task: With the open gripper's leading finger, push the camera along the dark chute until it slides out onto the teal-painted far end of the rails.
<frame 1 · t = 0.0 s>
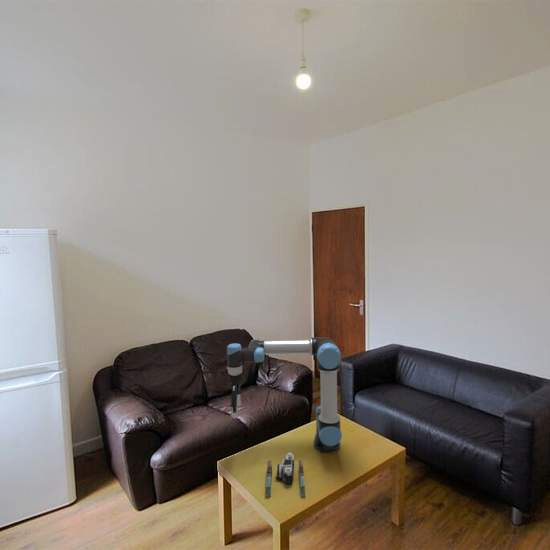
hand: (236, 411, 193), 28 cm above the table, fingers open, 13 cm apart
camera: (285, 476, 182), on the table
rail 2: (301, 482, 177), on the table
rail 1: (269, 482, 178), on the table
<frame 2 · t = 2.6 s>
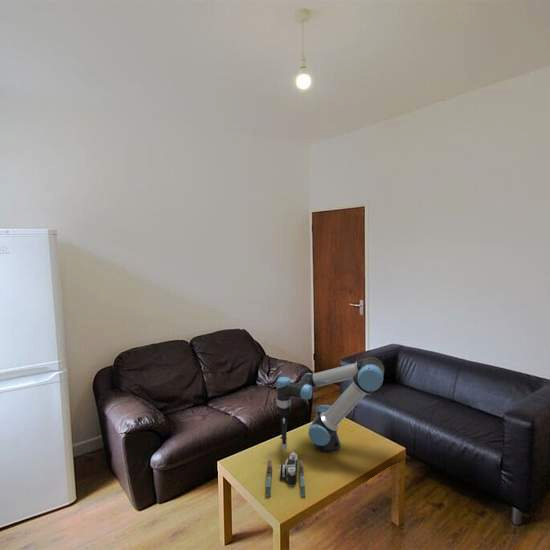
hand: (284, 441, 202), 6 cm above the table, fingers open, 13 cm apart
camera: (289, 476, 183), on the table
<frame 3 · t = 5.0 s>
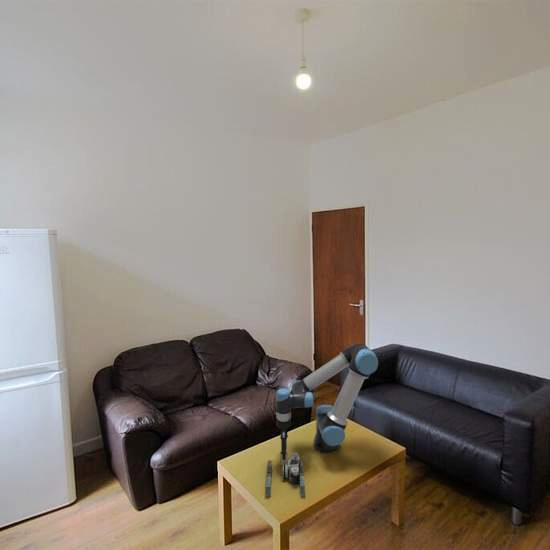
hand: (284, 456, 193), 3 cm above the table, fingers open, 13 cm apart
camera: (291, 476, 182), on the table, touching gripper
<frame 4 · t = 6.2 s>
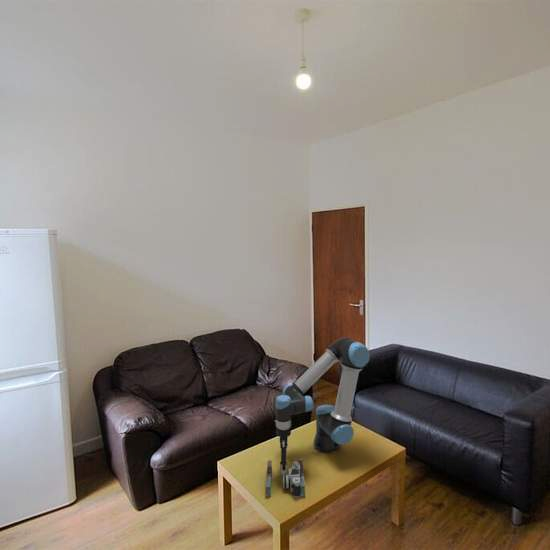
hand: (284, 466, 185), 3 cm above the table, fingers open, 13 cm apart
camera: (292, 486, 175), on the table, touching gripper
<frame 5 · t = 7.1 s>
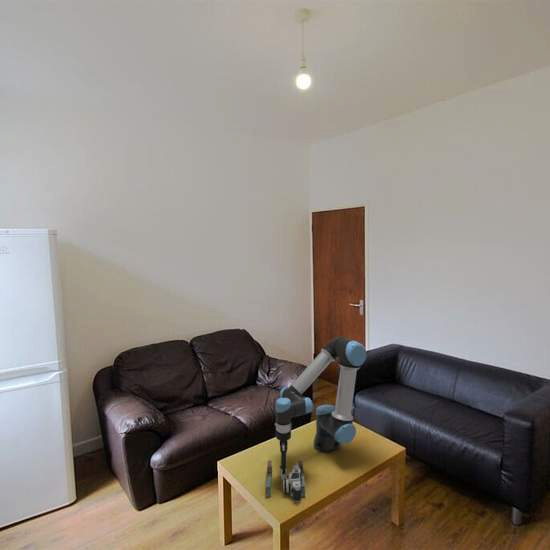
hand: (283, 470, 182), 3 cm above the table, fingers open, 12 cm apart
camera: (292, 490, 172), on the table, touching gripper, rail 2
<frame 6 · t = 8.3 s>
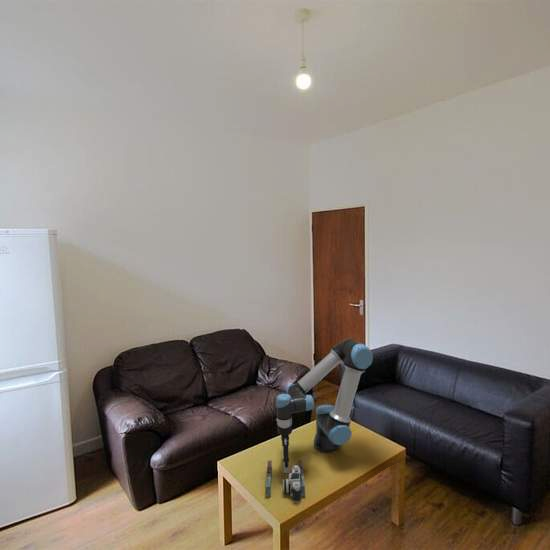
hand: (286, 463, 187), 3 cm above the table, fingers open, 13 cm apart
camera: (292, 490, 172), on the table
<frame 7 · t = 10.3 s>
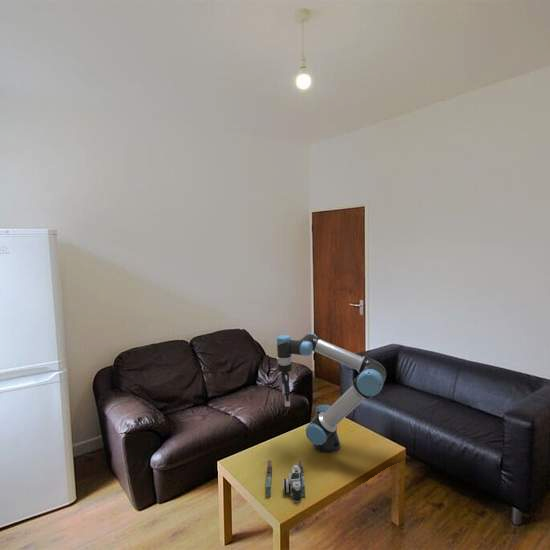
hand: (286, 400, 201), 29 cm above the table, fingers open, 13 cm apart
nothing on the table moved.
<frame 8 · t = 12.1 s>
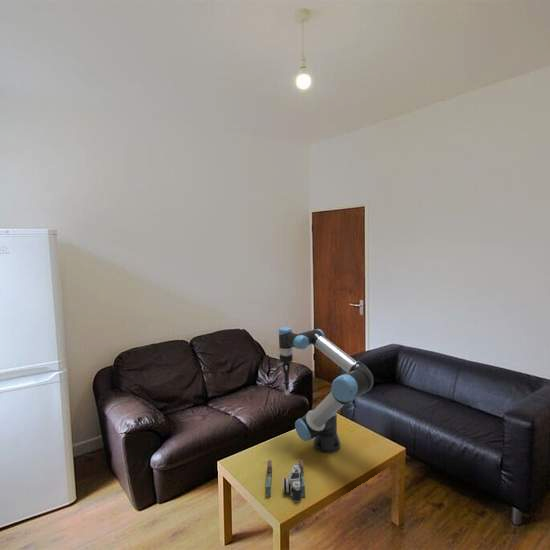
hand: (286, 389, 210), 32 cm above the table, fingers open, 13 cm apart
nothing on the table moved.
at the end: camera inside the target area (3.7 cm from its centre), on the table; camera tilted 0° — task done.
